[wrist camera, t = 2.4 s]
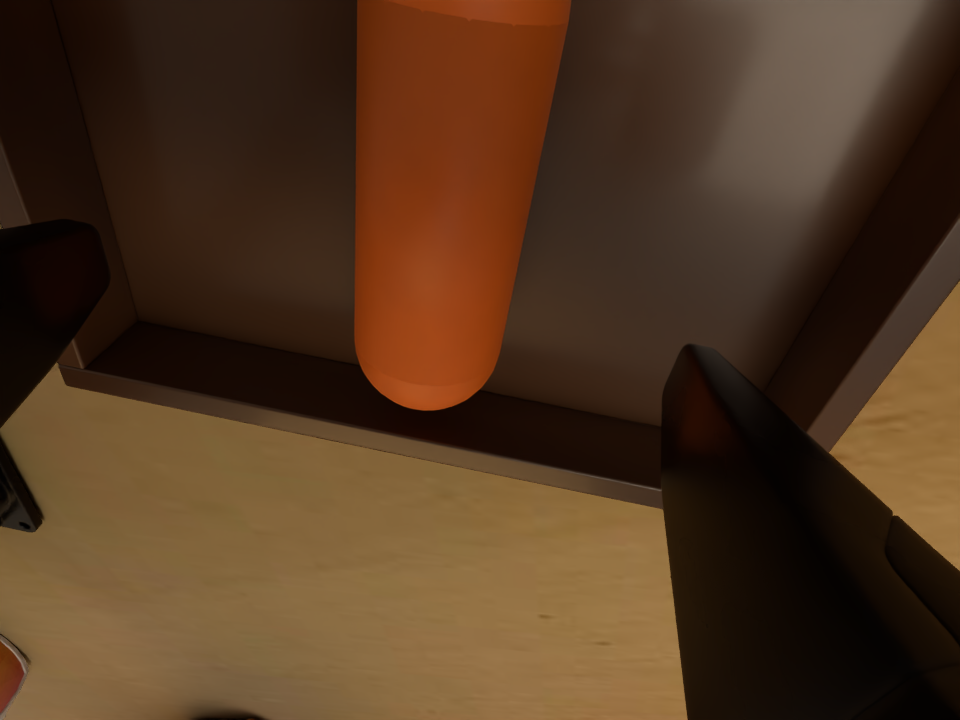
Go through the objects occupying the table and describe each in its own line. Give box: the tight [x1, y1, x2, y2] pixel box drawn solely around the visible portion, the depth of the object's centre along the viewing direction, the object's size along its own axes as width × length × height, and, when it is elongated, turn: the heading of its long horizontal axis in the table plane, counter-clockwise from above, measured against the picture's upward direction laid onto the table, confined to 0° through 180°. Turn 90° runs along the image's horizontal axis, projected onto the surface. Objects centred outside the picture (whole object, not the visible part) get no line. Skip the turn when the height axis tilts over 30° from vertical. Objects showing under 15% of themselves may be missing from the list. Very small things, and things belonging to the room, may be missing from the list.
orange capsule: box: [354, 0, 571, 410], centre depth 12 cm, size 11×4×4 cm, turn 172°
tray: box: [0, 0, 960, 509], centre depth 13 cm, size 15×20×3 cm
